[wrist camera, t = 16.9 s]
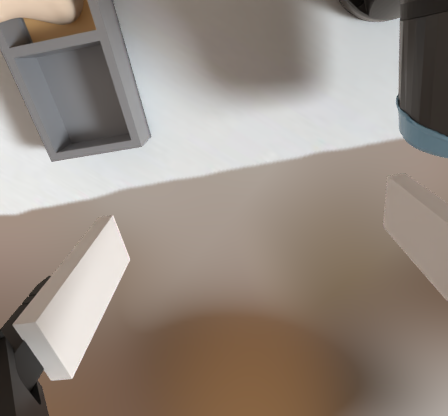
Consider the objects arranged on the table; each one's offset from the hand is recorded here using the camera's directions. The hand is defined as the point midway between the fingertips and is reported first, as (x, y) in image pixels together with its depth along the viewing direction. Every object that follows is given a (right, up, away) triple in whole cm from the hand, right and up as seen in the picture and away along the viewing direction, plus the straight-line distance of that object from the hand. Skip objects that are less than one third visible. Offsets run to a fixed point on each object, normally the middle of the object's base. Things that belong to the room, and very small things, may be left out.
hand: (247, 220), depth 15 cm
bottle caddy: (-23, +24, +29) cm, 44 cm away
